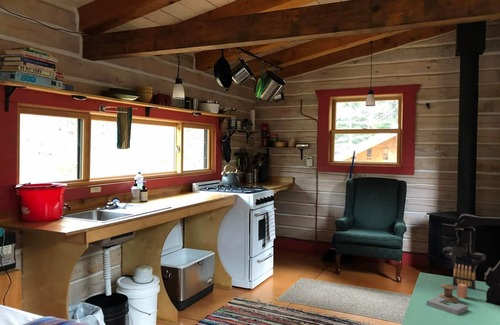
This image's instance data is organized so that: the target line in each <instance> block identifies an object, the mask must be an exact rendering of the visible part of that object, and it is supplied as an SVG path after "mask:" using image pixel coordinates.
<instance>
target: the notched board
mask: <svg viewBox="0 0 500 325" xmlns="http://www.w3.org/2000/svg"><path fill="white" fill-rule="evenodd" d="M426 306H429V307H432V308H435V309H438V310H440V311H444V312H447V313H449V314H453V315H456V316H458V315H460V314H462V313H465V312H467V311H468V310H469V308H468V307H469V306H468V305H466V304H463V303H460V302H457V303H454V304H453V305H449V304H447V302H446V299H444V298H441V297H438V296H436V297H433V298H430V299H427V300H426Z"/></svg>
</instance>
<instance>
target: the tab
mask: <svg viewBox="0 0 500 325" xmlns="http://www.w3.org/2000/svg"><path fill="white" fill-rule="evenodd" d="M467 285H468V284H467ZM467 285H465V284H459V285H457V286H456V287H457V289H456V297H457V298H459V297H460V299H463V298H464V299H465V298H467V297H468V288H467Z"/></svg>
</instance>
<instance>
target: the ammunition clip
mask: <svg viewBox="0 0 500 325" xmlns="http://www.w3.org/2000/svg"><path fill="white" fill-rule="evenodd" d="M459 284H465V285H467V289H469V290H476V270H475V271H474V273H472V265H469V267H468V265H464V264H460V263H459V264H458V265H457V263H455V269H453V278H452V285H453V286H456V287H457V285H459Z"/></svg>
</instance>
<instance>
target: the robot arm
mask: <svg viewBox="0 0 500 325" xmlns="http://www.w3.org/2000/svg"><path fill="white" fill-rule="evenodd" d="M475 226H476V227H477V226H500V217H499V216H498V217H497V216H478V215H473V214H467V213H462V214H460V216H459V217H458V221H457V222H455V223H454V224H447V223H442V228H441V238H445V239H446V238H447V239H455V238H456V237H457V241H456V242H455V245H453V247H451V246H447V247H446V246H445V247H443V249H442V253H443V254H445V256H446V257H447V258H448V259H449V261H450V263H451V268H452V269H453V270H454V269H455V263H456V262H457V257H458V258H461V257H463V256H464V257H469V258H471V260H470V261H471V273H474V271H475V272H476V269H477V268H478V265H479V264H480V263H481V262H483V261H487V260H486V259H487V256H486V255H485V254H484V253H482V252H481V253H480V252H474V253H473V252H472V249H471V247H472V246H471V245H472V244H473V242H472V233H475V232H476V229H475V228H474V227H475ZM456 264H457V263H456ZM484 282H485V284H486V286H487V290H486V298H485V299H486V300H485V302H487V303H490V304H492V305H498V306H500V260H499V261H498V263H497V264H496V265H495V266H494V267H493V268H491V267H490V266H489V267H488V268H487V271H486V272H484Z"/></svg>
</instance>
